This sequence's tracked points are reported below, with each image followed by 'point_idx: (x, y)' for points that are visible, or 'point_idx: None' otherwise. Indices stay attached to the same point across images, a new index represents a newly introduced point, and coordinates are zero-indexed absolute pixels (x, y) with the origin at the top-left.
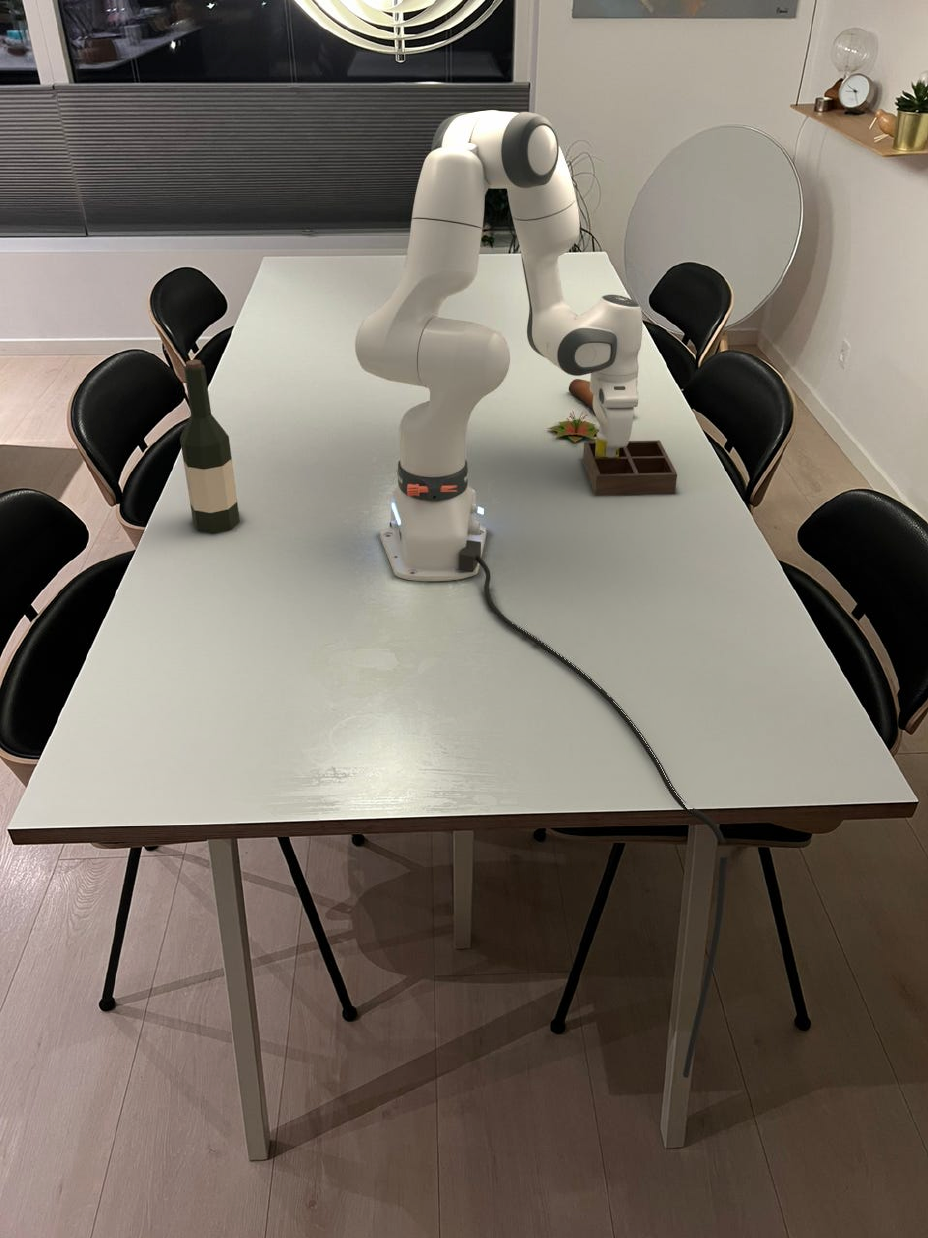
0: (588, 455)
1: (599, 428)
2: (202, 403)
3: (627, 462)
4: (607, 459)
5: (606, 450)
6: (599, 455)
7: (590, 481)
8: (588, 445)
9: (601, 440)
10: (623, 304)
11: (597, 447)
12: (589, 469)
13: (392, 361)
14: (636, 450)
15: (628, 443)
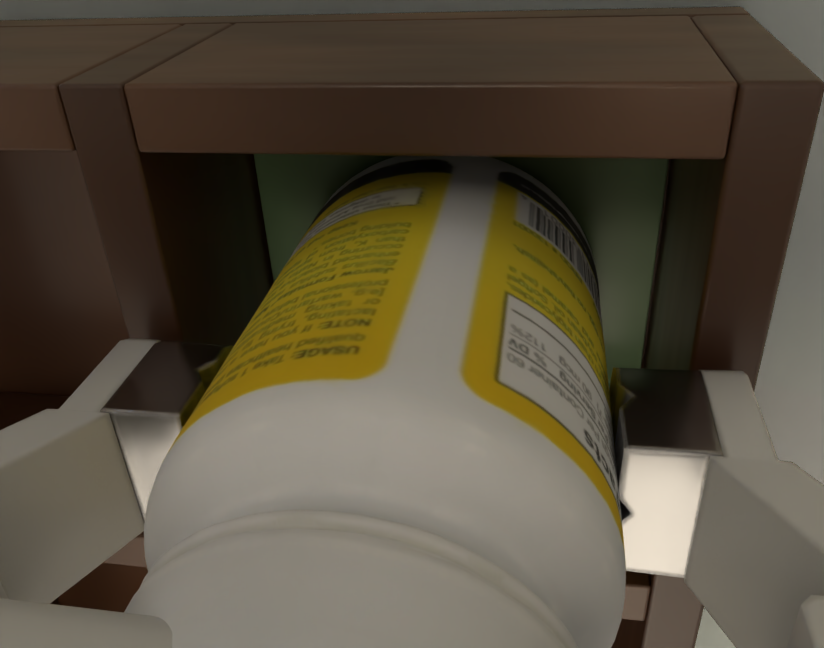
0: (264, 76)
1: (284, 568)
2: None
3: None
4: (128, 328)
5: (89, 388)
6: (303, 251)
7: (91, 19)
8: (624, 142)
9: (193, 415)
10: None
11: (326, 277)
12: (159, 40)
13: None
14: (622, 630)
15: (637, 642)
